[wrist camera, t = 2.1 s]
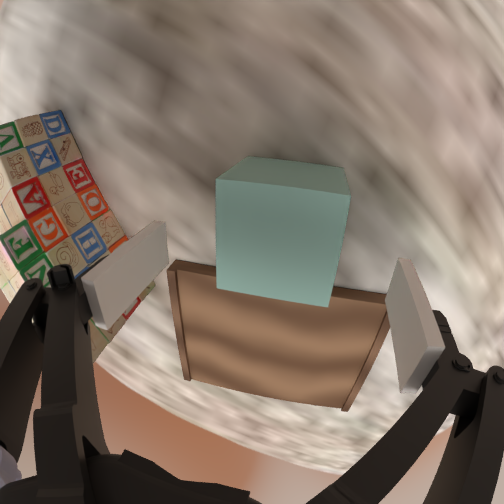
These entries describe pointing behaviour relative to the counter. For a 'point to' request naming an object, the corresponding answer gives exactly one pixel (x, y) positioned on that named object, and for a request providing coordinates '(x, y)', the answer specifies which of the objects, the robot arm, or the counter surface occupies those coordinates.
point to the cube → (280, 229)
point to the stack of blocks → (52, 211)
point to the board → (275, 339)
